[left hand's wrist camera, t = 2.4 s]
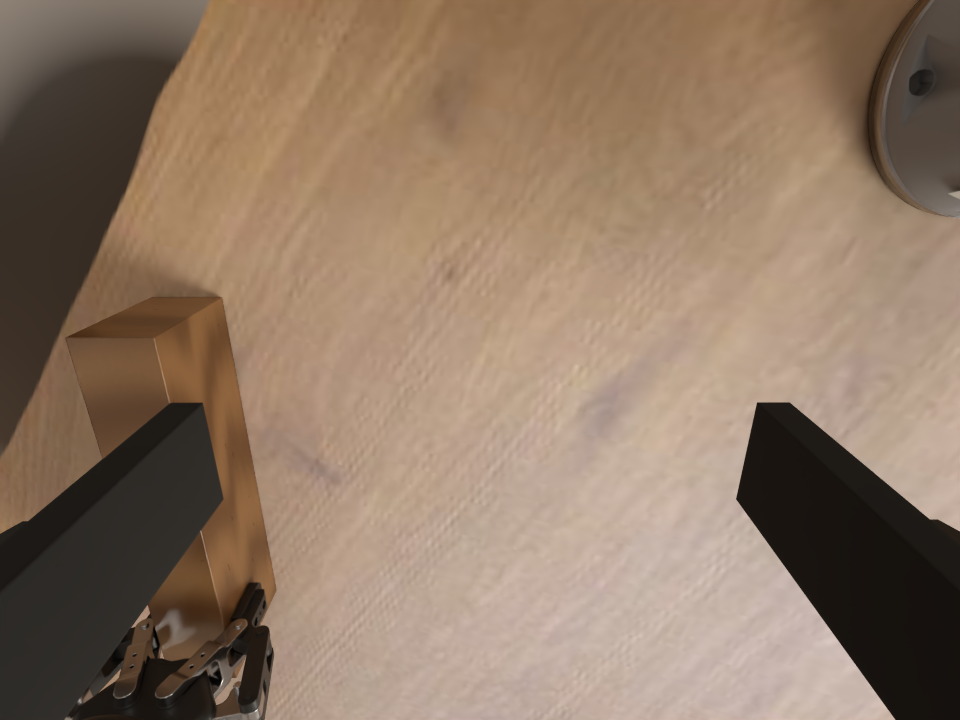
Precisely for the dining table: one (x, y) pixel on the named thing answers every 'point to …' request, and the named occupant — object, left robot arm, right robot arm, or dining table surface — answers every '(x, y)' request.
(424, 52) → the dining table surface
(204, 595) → the bar
